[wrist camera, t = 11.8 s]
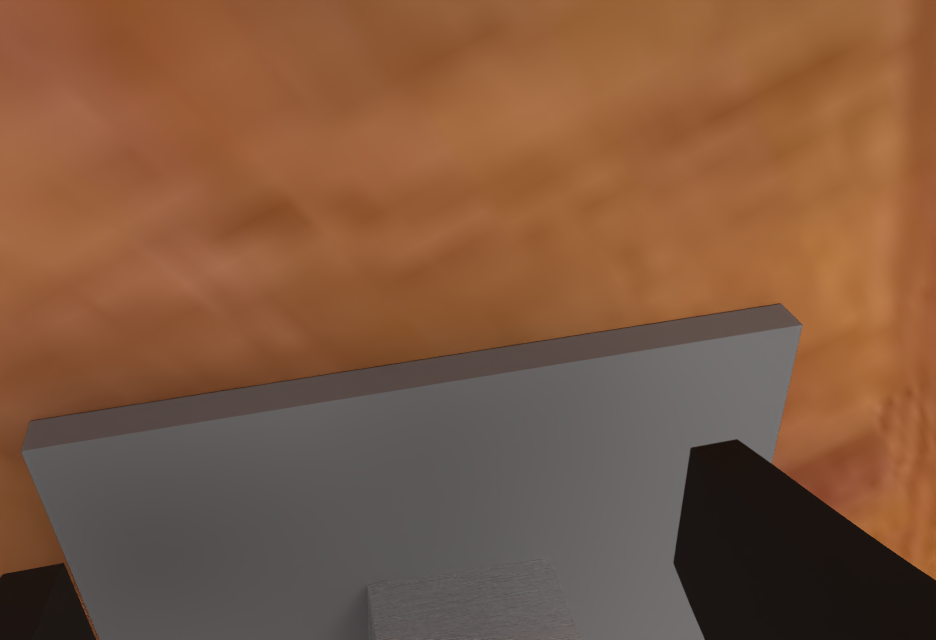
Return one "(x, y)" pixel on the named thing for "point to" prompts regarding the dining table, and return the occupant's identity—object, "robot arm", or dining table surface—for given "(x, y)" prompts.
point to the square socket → (473, 605)
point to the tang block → (410, 481)
